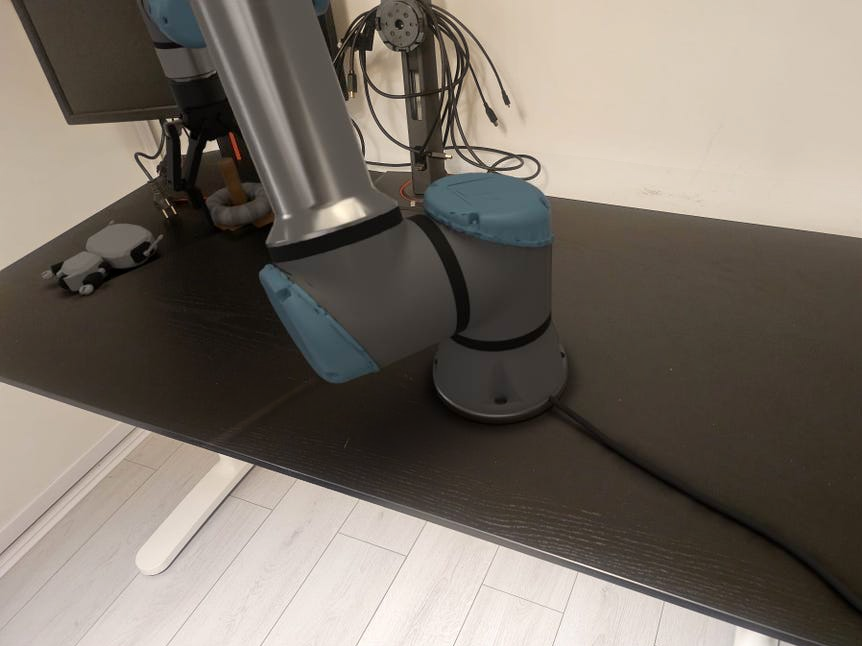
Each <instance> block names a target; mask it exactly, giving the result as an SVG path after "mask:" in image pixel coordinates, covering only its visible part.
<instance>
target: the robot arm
mask: <svg viewBox="0 0 862 646" xmlns="http://www.w3.org/2000/svg"><path fill="white" fill-rule="evenodd" d="M135 1H136V4H137V6H138V9H139V11H140V13H141V16H142V19H143V21H144V24H145V26H146V28H147V31H148V33H149V35H150V38H151V41H152V44H153V48H154V49H155V52H156V54H157V58H158V60H159V62H160V65H161V67H162V70H163V72H164V75H165V77H167V78H169V79H168V86H169V89H170V91H171V93H172V97H173V99H174V101H175V104H176V106H177V109H178V111H179V118H178V119H175V120H171V121H168V120H162V121H161V123H160V126H161V129H162V131H163V135H164V137H165V156H166V157H165V161H166V163H165V164H166V165H165V166H166V185H167V187H169V189H171V190H173V191H174V192H175V193H176V192H177V193H180V192H183V193H184V195H185V198H186V200H187V203H188V205H189V206H190V207H191V208H192V209H193V210H194V211H197V212H198V213H199V215H200V218H201V221H202V223H203V224H204V225H205V226H207V227H209V228H210V229H212V228H214V227H216V226H215V225H214V222H213V220H212V217H211V215H210V212H209V209H208V207H207V204H206V199H205V197H204V195H203V192H202V189H201V188H200V187H198V186H196V183H197V179H198V174H199V169H200V166H201V162H202V158H203V153H204V150H205V149H206V147H207V144H208V142H210V143H211V142H214V141H216V140H217V139H218V138H225V137H228V136H229V134H232V135H233V136H235V137H236V138H237V139H238V140H239V141H241V142H242V143H244V144H245V145H246V148H247V150H248V153H249V155H250V158H251V160H252V163H253V165H254V168H255V171H256V173H257V176H258V177H259V180H260V183H262V185H263V188H264V190H265V193H266V195H267V198H268V201H269V203H270V206H271V208H272V211H273V213H274V216H275V217H274V221H273V223H272V226H271V228H270V231H269V233H268V235H267V237H266V240H265V241H264V243H265V246H266V248H267V251H268V253H269V256H270V258H271V261H272V263H267V264H265V265H264V267H263V268H262V269H260V271H259V273H258V278H259V281H260V285H262V287H263V289H264V291H265V293H266V296H267V298H268V300H269V302H270V303H271V306H272V308H273V309H274V311H275V313H276V315H277V316H278V318H279V320H280V321H281V323H282V325H283V326H284V328H285V330H286V331H287V333H288V335H289V336H290V337H291V339H292V341H293V342H294V344H295V345H296V347H297V348H298V350H299V351H300V353H301V354H302V356H303V357H304V359H305V360H306V361H307V363H308V364H309V365H310V367H311V368H312V369H313V370H314V372H315V373H316V374H317V375H318V376H319V377H320V378H321V379H323V380H325V381H326V382H329V383H332V384H343V383H347V382H349V381H352V380H354V379H358V378H359V377H363V376H364V375H368V374H370V373H378V372H380V371H381V370H380V369H382V368H384V367H387V366H389V365H391V364H394V363H396V362H398V361H400V360H402V359H405V358H406V357H409V356H411V355H414V354H416V353H417V352H420V351H422V350H424V349H427V348H429V347H431V346H434V345H436V344H437V343H438V346H437V347H438V348H437V350H436V352H435V355H434V359H433V365H432V378H433V384H434V388H435V393H436V394H437V397H438V398H439V400H440V401H441V402H442V403H443V405H444V406H445V407H447V408H448V409H449V410H450V411H451V412H453V413H455V414H456V415H458V416H460V417H461V418H464V419H467V420H470V421H473V422H477V423H478V422H479V423H481V424H494V425H496V424H497V425H500V424H501V425H502V424H503V425H504V424H512V423H518V422H521V421H525V420H529V419H531V418H534V417H536V416H538V415H540V414H542V413H543V412H545V411H547V410H548V409H549V408H551V407H553V406H554V407H555V408H557V409H558V410H560V411H561V412H562V413H564V414H565V415H566V416H567V417H569V418H571V419H572V420H574V421H575V422H576V423H578V424H579V425H580V426H581V427H583V428H584V429H585V430H587V432H589V433H591V434H592V435H593V436H594V437H596V438H597V439H599V440H600V441H601V442H603V443H604V444H605V445H607V446H608V447H610V448H611V449H612V450H614V451H616V452H617V453H618V454H620V455H621V456H623V457H624V458H626V459H628V460H629V461H631V462H632V463H634V464H636V465H638V466H639V467H641V468H642V469H644V470H646V471H647V472H649V473H651V474H653V475H654V476H656V477H657V478H659V479H661V480H663V481H665V482H667V483H668V484H670V485H671V486H673V487H675V488H677V489H679V490H681V491H682V492H684V493H686V494H688V495H689V496H691V497H692V498H694V499H696V500H698V501H700V502H702V503H703V504H705V505H707V506H708V507H711V508H713V509H715V510H716V511H718V512H720V513H722V514H723V515H727V516H729V517H730V518H732V519H734V520H735V521H738V522H740V523H742V524H744V525H745V526H748V527H750V528H752V529H753V530H755V531H757V532H758V533H760V534H762V535H764V536H766V537H767V538H769V539H770V540H772V541H773V542H776V543H777V544H778V545H780V546H781V547H782V548H784V549H785V550H787V551H789V552H790V553H792V554H793V555H794V556H796V557H797V558H799V559H800V560H801V561H803V562H804V563H805V564H806V565H808V567H810V568H811V569H813V571H815V572H816V573H817V574H818V575H819V576H820V577H822V578H823V579H824V580H825V581H826V582H827V583H828V584H829V585H830V586H831V587H832V588H833V589H835V591H837V592H838V593H839V594H840V595H841V596H842V597H844V599H846V600H847V601H848V602H849V603H850V604H851V605H853V606H854V607H855V608H856V609H857V610H858V611H860V612H861V613H862V599H861V598H860V597H859V596H858V595H857V594H855V593H854V592H853V591H852V590H851V589H850V588H849V587H847V586H846V584H844V583H843V582H842V581H841V580H840V579H839V578H838V577H836V576H835V575H834V574H833V573H832V572H831V571H830V570H829V569H828V568H826V567H825V566H824V565H823V564H821V562H819V561H818V560H817V559H816V558H814V557H813V556H812V555H811V554H809V553H807V552H806V551H805V550H804V549H803V548H801V547H799V545H797V544H795V543H794V542H793V541H791V540H790V539H788V538H786V537H785V536H783V535H781V534H780V533H779V532H777V531H775V530H773V529H771V528H770V527H768V526H766V525H765V524H763V523H761V522H759V521H757V520H756V519H754V518H752V517H750V516H748V515H746V514H744V513H742V512H740V511H738V510H737V509H734V508H732V507H731V506H728V505H726V504H724V503H722V502H721V501H719V500H717V499H714V498H712V497H711V496H709V495H707V494H705V493H704V492H702V491H700V490H698V489H696V488H694V487H693V486H691V485H689V484H687V483H686V482H684V481H682V480H680V479H679V478H677V477H675V476H674V475H671V474H669V473H668V472H666V471H664V470H662V469H661V468H659V467H657V466H655V465H654V464H652V463H650V462H649V461H647V460H645V459H644V458H642V457H640V456H638V455H637V454H635V453H633V452H632V451H630V450H629V449H628V448H626V447H624V446H623V445H621V444H619V443H618V442H616V441H615V440H614V439H612V438H611V437H609V436H608V435H606V434H605V433H604V432H602V431H601V430H600V429H598V428H597V427H596V426H594V425H593V424H592V423H591V422H589V421H588V420H587V419H586V418H584V417H583V416H581V415H580V414H578V413H577V412H576V411H575V410H573V409H572V408H570V407H569V406H567V405H566V404H565V403H563V402H562V401H560V400H559V399H560V398H561V396H562V395H563V393H564V391H565V389H566V387H567V383H568V373H569V370H568V369H569V363H568V358H567V353H566V351H565V348H564V346H563V344H562V342H561V340H560V337H559V334H558V331H557V328H556V326H555V323H554V321H553V319H552V318H553V317H552V310H553V309H552V307H553V305H552V304H553V303H552V302H553V300H552V299H553V298H552V297H553V296H552V295H553V289H552V288H553V242H554V241H555V233H554V230H553V219H552V208H551V204H550V201H549V199H548V198H547V196H546V194H545V193H544V192H543V191H542V190H541V189H540V188H539V187H537V186H535V185H534V184H533V183H531V182H529V181H527V180H524V179H522V178H518V177H515V176H512V175H508V174H502V173H496V172H495V173H494V172H481V171H480V172H477V171H475V172H474V171H473V172H464V173H463V172H462V173H456V174H451V175H447V176H444V177H441V178H439V179H437V180H435V181H433V182H432V183H431V184H430V185H429V186H428V187H427V188H426V189H425V191H424V193H423V199H422V208H423V211H422V212H419V213H417V214H414V215H410V216H409V217H406V218H404V217H403V214H402V211H401V208H400V205H399V202H398V200H397V199H395V198H393V197H391V196H390V195H388V194H386V193H385V192H383V191H381V190H379V189H378V188H377V187H376V186H375V185H374V183H373V179H372V177H371V174H370V171H369V168H368V165H367V162H366V159H365V156H364V153H363V151H362V146H361V144H360V141H359V138H358V136H357V135H358V134H357V132H356V129H355V126H354V122H353V120H352V117H351V114H350V111H349V108H348V106H347V102H346V98H345V96H344V93H343V91H342V88H341V84H340V81H339V79H338V75H337V72H336V69H335V67H334V63H333V60H332V57H331V54H330V52H329V48H328V45H327V42H326V39H325V36H324V33H323V30H322V27H321V24H320V22H319V18H318V17H319V16H322V15H324V14H325V13H326V12H327V11H328V9H329V6H330V0H135ZM235 120H236V122H237V123H236V122H235ZM183 128H185V129H186V130H188V131H189V135H188V139H187V142H188V146H187V150H186V154H185V158H184V162H183V166H182V142H181V136H182V135H183Z"/></svg>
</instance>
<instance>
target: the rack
mask: <svg viewBox="0 0 862 646" xmlns="http://www.w3.org/2000/svg"><path fill="white" fill-rule="evenodd" d="M216 162H217V165H218V168H219V171H220V174H221V176H222V179H223V181H224V184H225V188H226V187H227V190H228V192H229V195H230V198H231V201H232V203H233V205H232V206H229V207H233V206H239V205H244V204H246V203H249V202H251V201H247V198H246V195H245V192H244V190H243V187H242V184H241V183H242V181H241V179H240V176H239V173H238V169H237V167H236V164H235V162H234V158H233V157H229V156H227V157H226V156H225V157H223V158H222V157H221V158H220V159H218V160H217V161H216ZM274 217H275V216H274V213H273V211H271V212H270V213H269V214H268V215H267V216H265V217H263V218H261V219H259V220H256V221H254V222H252V223H248V224H252V225H253V226H255V227H256V228H257V229H258V228H259V229H260V228H262V227H264V226H266V225H268V224H271V223H274ZM248 224H242V225H237V226H227V225H218V224H216V223H214V225H215V227H217V228H219V229H220V230H222V231H225V230H230V231H236V229H239V228H242V227H244V226H246V225H248Z"/></svg>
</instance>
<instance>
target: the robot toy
mask: <svg viewBox="0 0 862 646" xmlns="http://www.w3.org/2000/svg"><path fill="white" fill-rule="evenodd" d="M163 238H164V234H160V235H159V236H158V237H157V239H155V238H154V236H153V234H152V232H151V231H150V230H148V229H147V228H145V227H143V226H141V225H137V224H130V223H115V219H114V220H111V221H110V222H109V224H108V225H107V226H106V227H103V228H102V229H101V230H99V231H98V232H96V233H95V234H93V235H91V236H90V237H88V238H87V242H86V244H85V249H86V251H85V250H83V251H81V252H79V253H77V254H75V255H73V256H72V257H70V258H68V259H67V260H63V261H60V262H57V263H55V264H52V265H50V269H48V270H44V271H43V272H42V273H41V278H42V279H43V280H44V281H49V280H52V279H53V278H54V277H56V278H57V279H58V280H57V283H58V285H59V287H60V288H61V289H62V290H67V291H68V290H71V292H77V291H79V292H78V293H79V294H80V295H90V294H91V293H92V292H94V290H99V288H100V287H101V286H102V285H103V284H104V279H105V278H106V277H107V276H109V274H110V272H111V270H112V269H121V270H123V269H130V268H134V267H137V266H141V265H143V264H145V263H146V262H147V261H148V260H149V258H150V257H151V256H154V254H155V253H156V251H157V249H158V243H159V242H160V240H162V239H163Z"/></svg>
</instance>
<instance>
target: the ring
mask: <svg viewBox="0 0 862 646" xmlns="http://www.w3.org/2000/svg"><path fill="white" fill-rule="evenodd" d="M241 184H242V187H243V190H244V192H245V195H246V198H247V201H251V202H249V203H246V204H244V205H239V206H233V207H229V206H232V205H233V203H232V201H231V198H230V195H229V192H228V190H227V187H226V186H225V187H224V188H221V189H218V190H216V191H215V192H214V193H213V194H211V195H210V196H209V197H208V198H206V199H205V202H206V204H207V207H208V209H209V212H210V215H211V217H212V220H213V222H214V223H216V224H218V225H227V226H237V225H242V224H246V225H248V223H249V224H251V223H252V222H254V221H256V220H259V219H261V218H263V217H265V216H267V215H268V214H269V213H270V212H271V211H272V208H271V206H270V203H269V201H268V198H267V195H266V193H265V190H264V188H263V185H262V183H261V182H243V183H242V182H241Z"/></svg>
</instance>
